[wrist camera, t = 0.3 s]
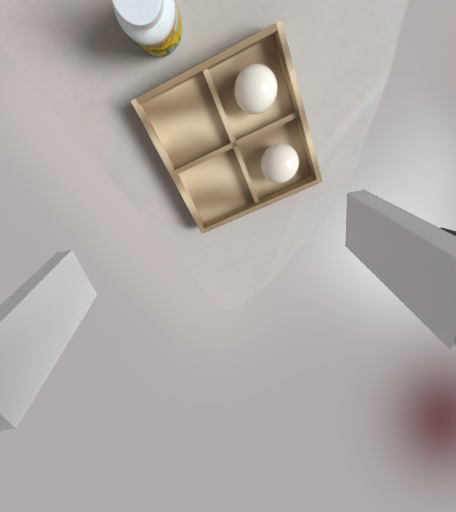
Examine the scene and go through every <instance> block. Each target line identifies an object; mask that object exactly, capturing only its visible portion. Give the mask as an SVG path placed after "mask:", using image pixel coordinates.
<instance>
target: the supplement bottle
mask: <svg viewBox="0 0 456 512" xmlns="http://www.w3.org/2000/svg"><path fill="white" fill-rule="evenodd" d="M112 3H113V8H114V12H115V15H116V18H117V20H118V22H119V24H120V26H121V27H122V29H123V30H124V31H125V33H126V34H127V35H128V36H129V37H131V38H132V39H133V40H134V41H135V42H136V43H137V44H138V45H139V46H141V47H142V48H143V49H144V50H145V51H146V52H148V53H149V54H151V55H153V56H157V57H164V56H167V55H169V54H171V53H172V52H173V51H174V50H175V49H176V48H177V47H178V45H179V43H180V41H181V38H182V21H181V16H180V13H179V10H178V7H177V4H176V1H175V0H112Z"/></svg>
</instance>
